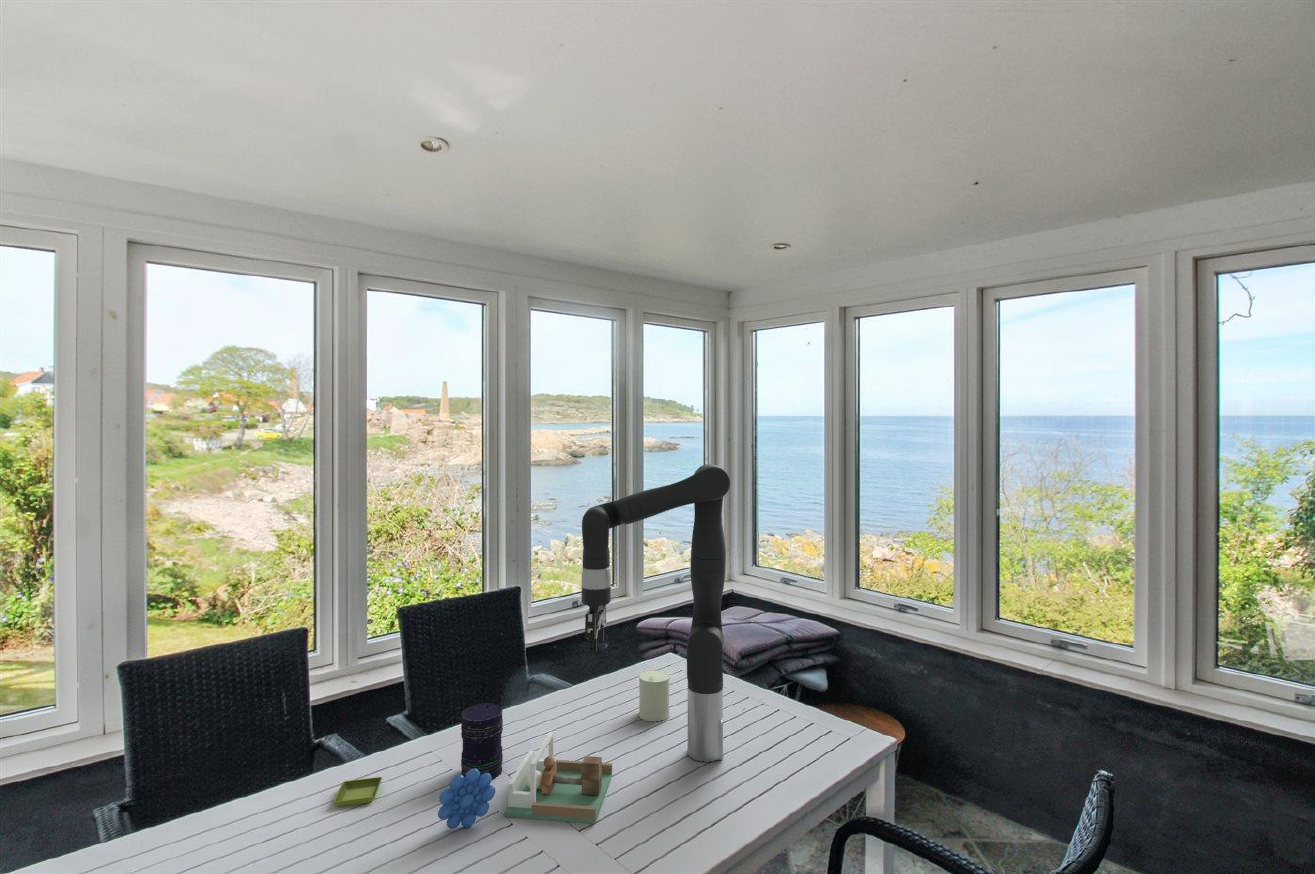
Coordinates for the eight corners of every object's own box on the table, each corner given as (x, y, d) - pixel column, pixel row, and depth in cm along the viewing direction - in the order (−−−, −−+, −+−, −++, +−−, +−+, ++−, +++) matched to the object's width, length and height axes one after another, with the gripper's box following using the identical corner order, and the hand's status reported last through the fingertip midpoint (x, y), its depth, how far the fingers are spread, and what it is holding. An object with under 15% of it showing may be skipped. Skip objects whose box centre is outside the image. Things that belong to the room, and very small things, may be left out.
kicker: (602, 785, 144) (602, 754, 144) (598, 797, 139) (598, 765, 139) (546, 781, 146) (547, 750, 146) (540, 793, 141) (540, 761, 141)
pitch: (612, 775, 151) (612, 731, 151) (595, 823, 132) (595, 772, 132) (532, 770, 153) (532, 726, 153) (504, 816, 135) (504, 766, 135)
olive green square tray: (332, 811, 137) (332, 801, 137) (342, 789, 145) (342, 780, 145) (375, 805, 139) (375, 796, 139) (382, 784, 147) (382, 776, 147)
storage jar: (491, 785, 146) (491, 722, 147) (453, 781, 148) (453, 718, 148) (509, 764, 156) (509, 704, 156) (473, 760, 158) (473, 701, 158)
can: (634, 719, 181) (634, 678, 182) (644, 706, 190) (644, 667, 190) (664, 723, 179) (664, 681, 179) (673, 710, 188) (673, 670, 188)
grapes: (494, 810, 137) (494, 755, 137) (496, 828, 130) (496, 771, 130) (438, 819, 133) (438, 763, 133) (437, 839, 127) (437, 780, 127)
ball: (527, 769, 146) (532, 785, 146) (521, 778, 142) (527, 795, 142) (543, 764, 145) (548, 781, 145) (538, 773, 141) (543, 790, 141)
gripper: (604, 591, 153) (604, 657, 153) (615, 578, 167) (615, 639, 167) (575, 590, 154) (574, 656, 154) (588, 578, 168) (588, 638, 168)
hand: (595, 647), depth 160 cm, fingers open, 8 cm apart
